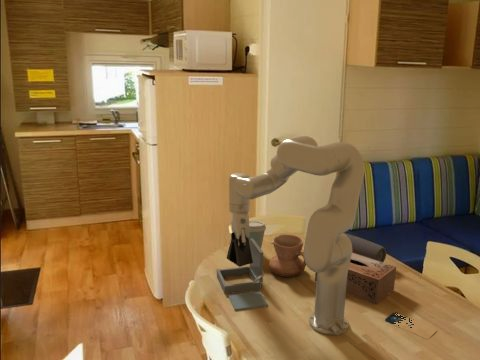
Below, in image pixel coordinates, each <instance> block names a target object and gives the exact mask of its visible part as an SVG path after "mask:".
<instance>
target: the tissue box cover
mask: <svg viewBox="0 0 480 360" xmlns="http://www.w3.org/2000/svg"><path fill="white" fill-rule="evenodd" d="M314 273H315V274H314V275H315V277H314V281H315V282H316V280H317V272H314ZM396 274H397V266H396V265H393V264H390V263H386V262H380V261H377V260H374V259H371V258H368V257H365V256H362V255H358V254H355V253H352V256H351V260H350V264H349V268H348V276H347V286H346V295H347V294H348V295H350V296H353V297H355V298H358V299H360V300H363V301H366V302H368V303H370V304H373V305H374V306H375V305H376V306H377V305H379V303H381V301H383V300H384V299H385V298H386V297H387V296H389V295H390V294H391V293H393V292H394V291H393V290H395V285H396V283H395V282H396ZM389 293H390V294H389Z"/></svg>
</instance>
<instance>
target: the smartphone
mask: <svg viewBox="0 0 480 360" xmlns="http://www.w3.org/2000/svg"><path fill="white" fill-rule="evenodd" d="M394 312H395V313H394ZM394 312H392V313H391V314H390V315H389V316H387V317H385V319H384V321H385V323H388V322H389V324H391V325H392V324H396V323H394V322H398V323H401V322H399V321H403V320H401V319H404V318H406V317H407V316H406V317H403V316H401V315H400V316H398V315H397V314H398V313H399V312H396V311H394ZM396 313H397V314H396ZM395 314H396V315H397V316H396V315H395ZM401 317H403V318H401ZM404 320H406V319H404ZM411 321H412V320H411ZM409 322H410V317H409ZM410 323H412V322H410ZM406 324H408V323H406ZM411 325H414V324H411ZM411 325H408V326H411ZM398 326H399V325H398ZM410 328H412V327H410Z"/></svg>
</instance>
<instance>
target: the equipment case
mask: <svg viewBox="0 0 480 360" xmlns="http://www.w3.org/2000/svg"><path fill="white" fill-rule="evenodd" d="M250 250H251V255H252V260H253V263H251V264H249V266H241V267H239V266H237V267H231V268H230V267H229V268H223V269H222V268H221V269H219V268H218V269H216V279H217V280H218V282H219V285H220V287H221V290H222V291H223V294H224V295H226V294H227V295H229V294H237V293H246V292H254V291H261V290H262V283H263V282H264V255H265V253H264V250H262V248H261V249H260V247H259V246H258V244H257V243H256V242H255V240H254V239H253V238H251V239H250ZM244 275H245V276H247V275H248V276H250V279H251V280H252V281H249V282H242V283H241V282H240V283H233V284H232V283H231V284H227V283H226V281H225V279H224V278H228V277H235V276H236V277H237V276H244Z"/></svg>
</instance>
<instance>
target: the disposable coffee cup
mask: <svg viewBox="0 0 480 360" xmlns="http://www.w3.org/2000/svg"><path fill="white" fill-rule="evenodd" d="M266 227H267V226H266V224H265V222H263V221H259V220H249V230H250V237H249V238H248V239H249V244H250V239H251V238H253V239H254V240H255V242H256V243H257V244H258V246H259V247H260V249H261V250H262V246H263V242H264V236H265V231H266V230H267V229H266Z"/></svg>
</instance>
